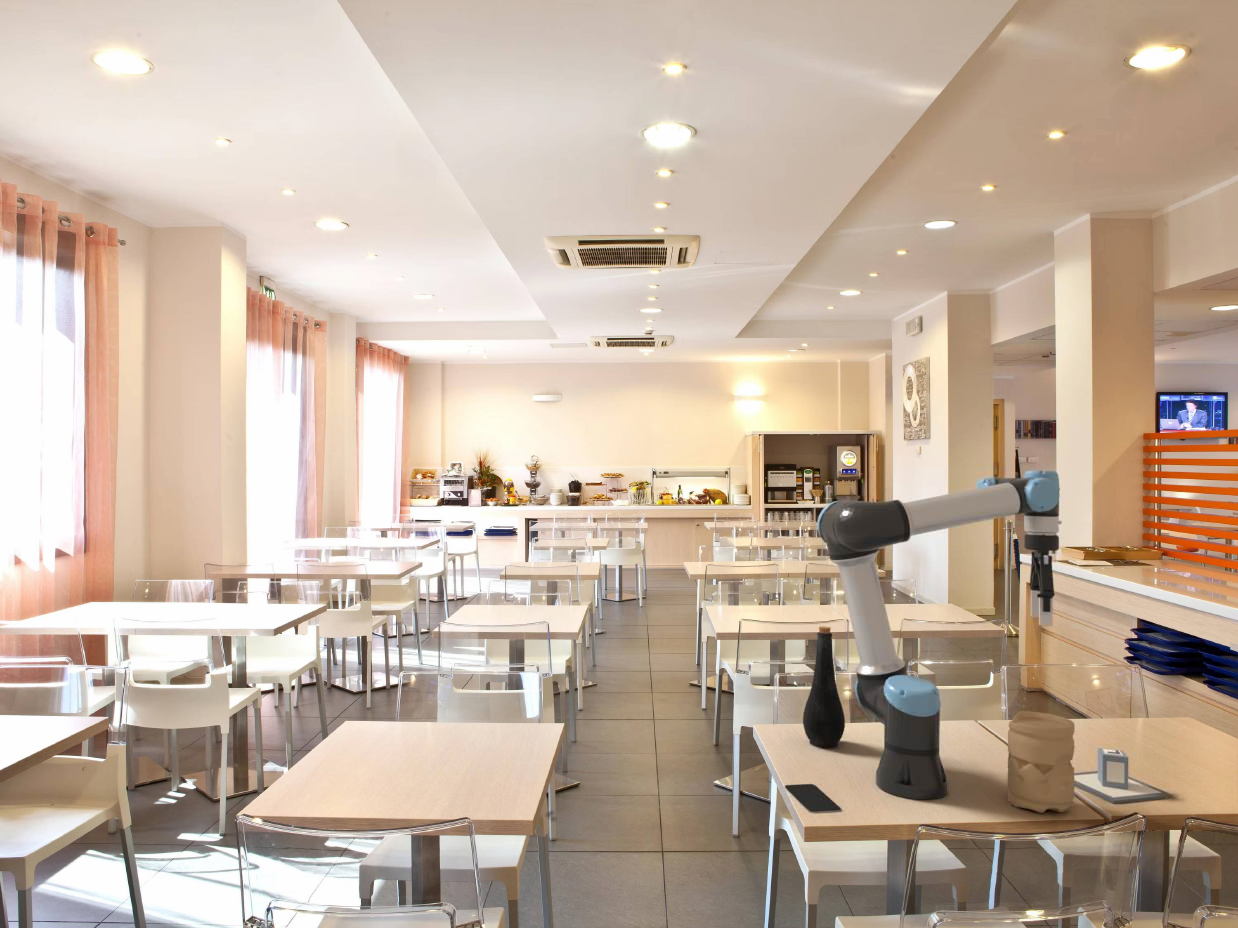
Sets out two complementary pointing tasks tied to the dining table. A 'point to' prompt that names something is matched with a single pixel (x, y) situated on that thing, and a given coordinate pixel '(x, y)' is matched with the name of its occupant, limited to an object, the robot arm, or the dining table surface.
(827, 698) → the bottle
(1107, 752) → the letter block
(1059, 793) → the container
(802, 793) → the smartphone
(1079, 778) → the grey bordered square plate
